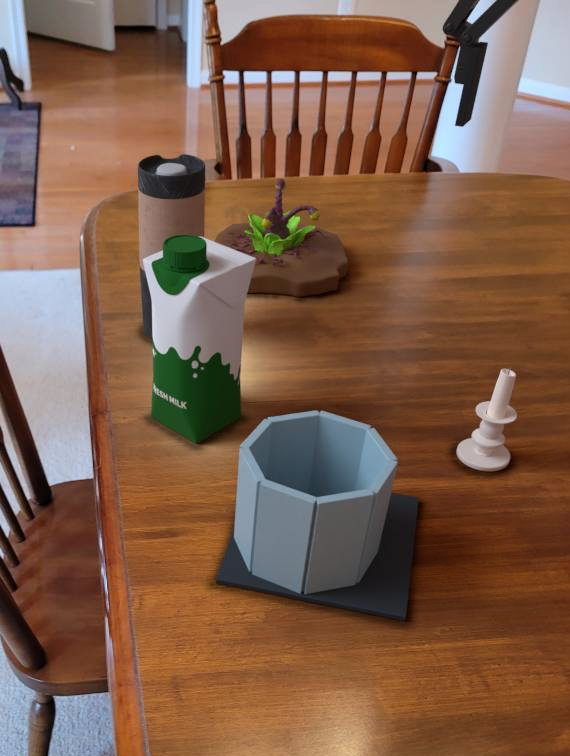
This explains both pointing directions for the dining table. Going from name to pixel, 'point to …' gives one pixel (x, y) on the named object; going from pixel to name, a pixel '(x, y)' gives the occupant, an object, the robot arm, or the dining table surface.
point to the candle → (491, 429)
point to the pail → (312, 500)
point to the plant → (288, 251)
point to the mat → (377, 586)
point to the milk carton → (197, 333)
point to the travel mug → (167, 210)
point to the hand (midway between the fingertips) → (535, 134)
